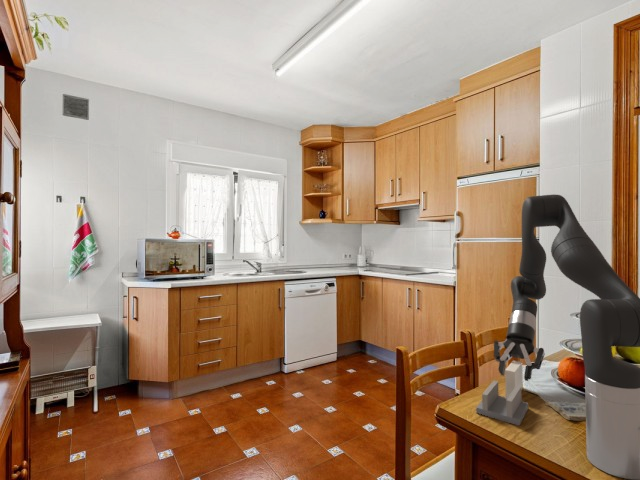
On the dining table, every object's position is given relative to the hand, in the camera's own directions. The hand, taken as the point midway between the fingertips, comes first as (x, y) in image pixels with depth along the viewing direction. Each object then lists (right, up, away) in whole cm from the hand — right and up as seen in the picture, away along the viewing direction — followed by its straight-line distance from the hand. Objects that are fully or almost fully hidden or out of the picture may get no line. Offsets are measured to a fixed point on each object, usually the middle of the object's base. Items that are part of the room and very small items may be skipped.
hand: (513, 376), depth 103 cm
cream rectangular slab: (0, -5, 0) cm, 5 cm away
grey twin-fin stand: (-9, -5, -10) cm, 15 cm away
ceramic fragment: (+9, -5, -12) cm, 16 cm away
